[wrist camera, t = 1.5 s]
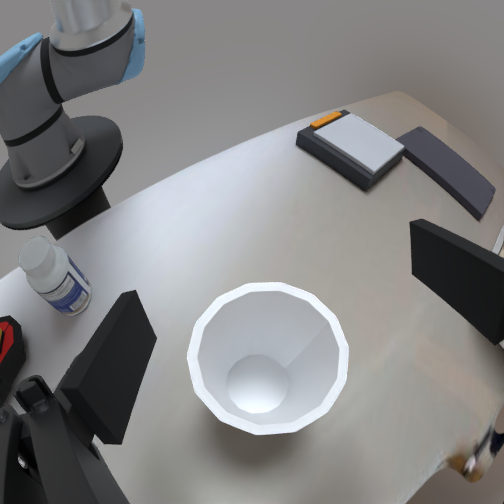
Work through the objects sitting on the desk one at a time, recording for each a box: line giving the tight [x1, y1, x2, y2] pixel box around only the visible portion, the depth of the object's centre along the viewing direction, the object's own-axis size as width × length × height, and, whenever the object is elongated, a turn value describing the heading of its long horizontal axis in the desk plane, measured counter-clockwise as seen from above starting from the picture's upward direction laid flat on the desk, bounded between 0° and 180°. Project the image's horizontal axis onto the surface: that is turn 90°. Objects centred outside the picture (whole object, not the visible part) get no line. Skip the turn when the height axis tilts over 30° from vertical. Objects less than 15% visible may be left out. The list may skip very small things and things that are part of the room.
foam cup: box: [187, 282, 349, 435], centre depth 22 cm, size 10×9×13 cm
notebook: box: [395, 126, 496, 220], centre depth 47 cm, size 13×2×21 cm
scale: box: [296, 110, 406, 191], centre depth 46 cm, size 14×14×3 cm
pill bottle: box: [18, 236, 91, 316], centre depth 27 cm, size 5×5×10 cm
